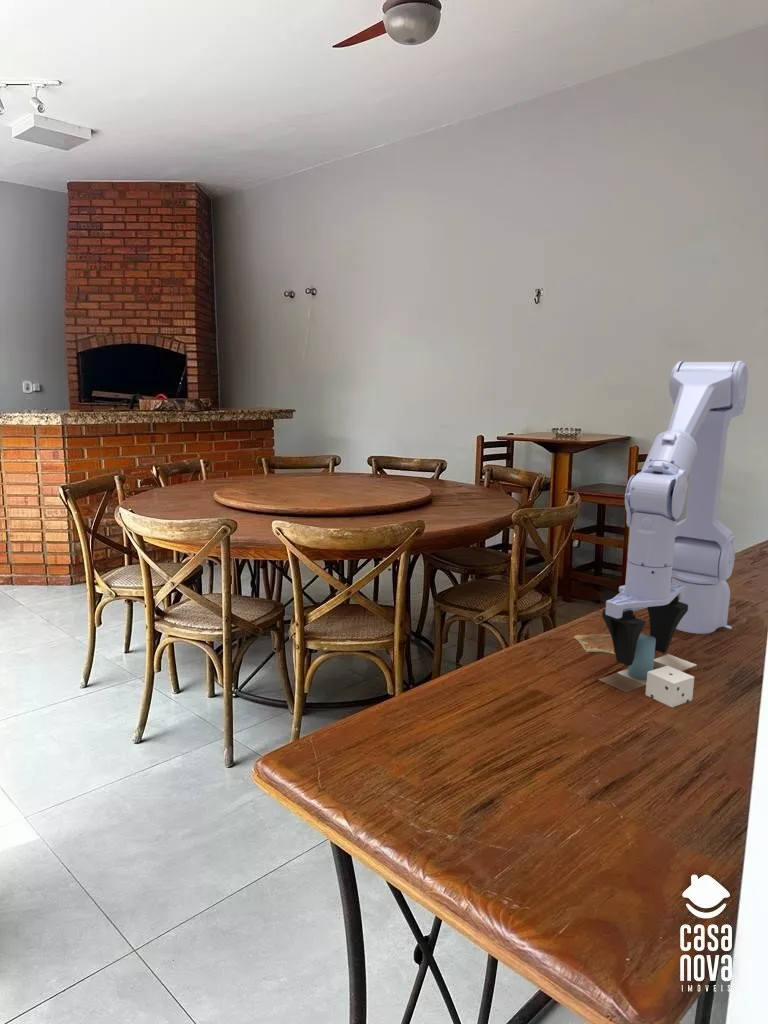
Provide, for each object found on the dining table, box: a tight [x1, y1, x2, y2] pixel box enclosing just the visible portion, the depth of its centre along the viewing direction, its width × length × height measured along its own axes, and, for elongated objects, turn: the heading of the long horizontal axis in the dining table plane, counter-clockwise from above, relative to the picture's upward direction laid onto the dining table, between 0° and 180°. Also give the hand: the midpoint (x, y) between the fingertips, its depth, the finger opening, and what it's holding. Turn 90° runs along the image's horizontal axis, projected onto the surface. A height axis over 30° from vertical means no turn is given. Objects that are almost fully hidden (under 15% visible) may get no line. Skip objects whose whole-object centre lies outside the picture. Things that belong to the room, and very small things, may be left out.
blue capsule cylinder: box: [627, 633, 656, 680], centre depth 95 cm, size 3×3×6 cm
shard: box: [573, 633, 615, 655], centre depth 106 cm, size 11×8×2 cm
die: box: [645, 666, 695, 708], centre depth 89 cm, size 4×4×4 cm
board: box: [598, 653, 697, 693], centre depth 96 cm, size 16×5×1 cm, turn 124°
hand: (641, 656), depth 95 cm, fingers open, 7 cm apart
